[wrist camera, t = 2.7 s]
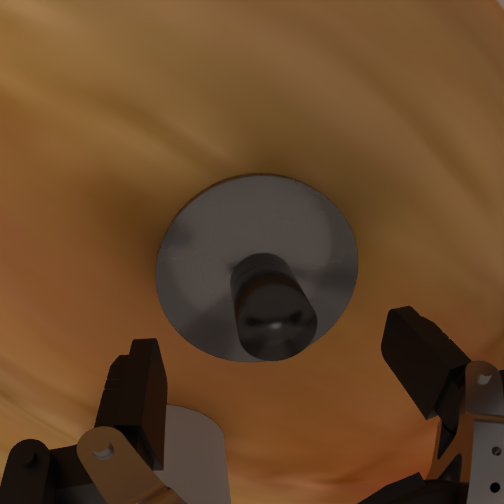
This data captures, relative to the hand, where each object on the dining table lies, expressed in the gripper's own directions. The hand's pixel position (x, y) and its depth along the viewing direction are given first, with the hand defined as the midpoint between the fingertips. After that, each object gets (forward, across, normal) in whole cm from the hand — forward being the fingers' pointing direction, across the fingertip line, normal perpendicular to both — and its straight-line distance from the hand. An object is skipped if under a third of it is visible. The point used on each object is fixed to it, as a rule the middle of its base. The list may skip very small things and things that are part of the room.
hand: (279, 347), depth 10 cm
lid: (+6, 0, 0) cm, 7 cm away
